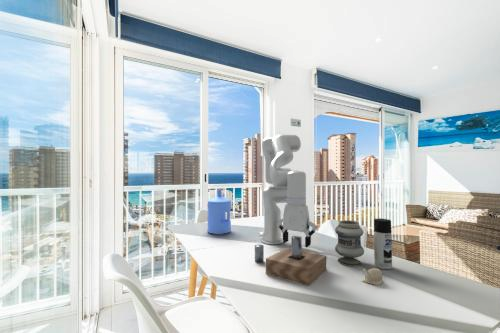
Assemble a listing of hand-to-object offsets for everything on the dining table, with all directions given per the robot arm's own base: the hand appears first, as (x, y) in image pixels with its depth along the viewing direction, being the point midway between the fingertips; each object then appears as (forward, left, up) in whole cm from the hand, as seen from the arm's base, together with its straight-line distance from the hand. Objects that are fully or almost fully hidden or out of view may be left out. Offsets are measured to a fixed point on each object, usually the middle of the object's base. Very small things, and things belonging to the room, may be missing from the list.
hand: (296, 244), depth 103 cm
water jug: (-72, +31, -11) cm, 79 cm away
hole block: (0, 0, -11) cm, 11 cm away
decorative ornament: (+27, +8, -11) cm, 30 cm away
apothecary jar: (+14, +24, -11) cm, 30 cm away
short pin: (-19, +1, -11) cm, 22 cm away
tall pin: (0, 0, -11) cm, 11 cm away
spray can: (+27, +27, -11) cm, 40 cm away
